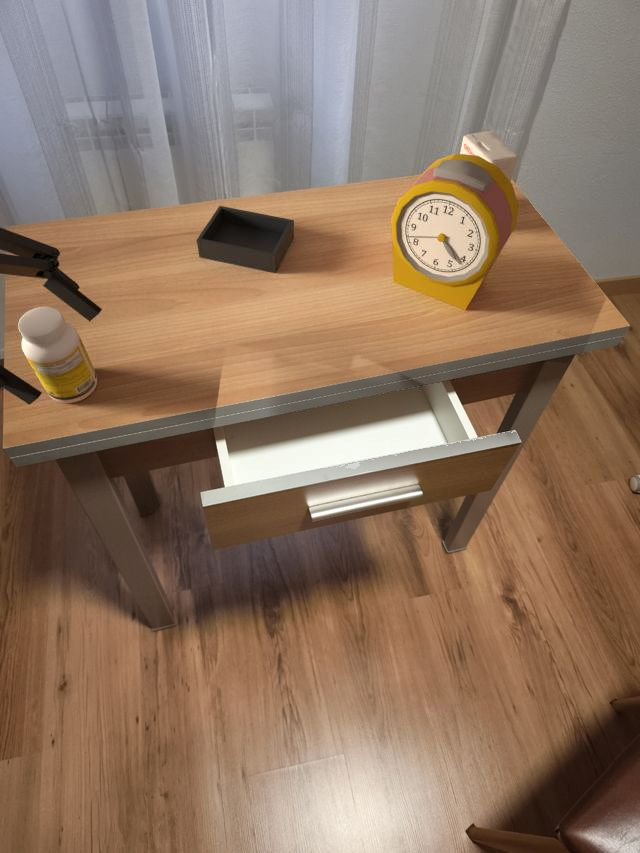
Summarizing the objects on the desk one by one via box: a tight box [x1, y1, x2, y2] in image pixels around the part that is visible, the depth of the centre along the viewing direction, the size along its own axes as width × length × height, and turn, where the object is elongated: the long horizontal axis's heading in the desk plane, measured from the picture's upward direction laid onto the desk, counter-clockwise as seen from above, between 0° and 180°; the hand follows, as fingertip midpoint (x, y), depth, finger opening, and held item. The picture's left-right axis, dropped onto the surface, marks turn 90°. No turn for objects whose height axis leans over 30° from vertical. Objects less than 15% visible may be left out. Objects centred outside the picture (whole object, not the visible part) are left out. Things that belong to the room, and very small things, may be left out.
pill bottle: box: [17, 305, 98, 404], centre depth 66 cm, size 6×6×11 cm
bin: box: [196, 205, 295, 274], centre depth 86 cm, size 12×9×3 cm
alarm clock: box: [390, 153, 519, 311], centre depth 77 cm, size 15×8×18 cm, turn 60°
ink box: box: [459, 130, 519, 183], centre depth 90 cm, size 9×5×12 cm, turn 21°
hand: (67, 355), depth 66 cm, fingers open, 13 cm apart
